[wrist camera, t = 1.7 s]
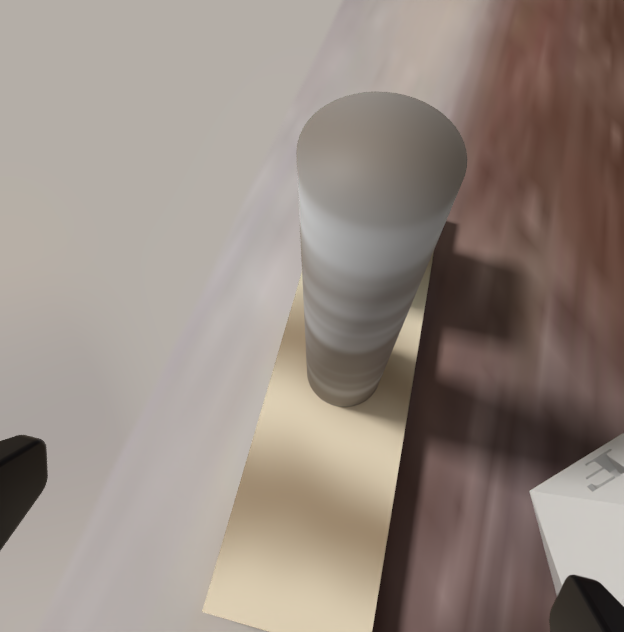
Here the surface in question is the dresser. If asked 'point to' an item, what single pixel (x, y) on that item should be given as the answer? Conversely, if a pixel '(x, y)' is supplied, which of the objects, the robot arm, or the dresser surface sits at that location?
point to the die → (585, 519)
